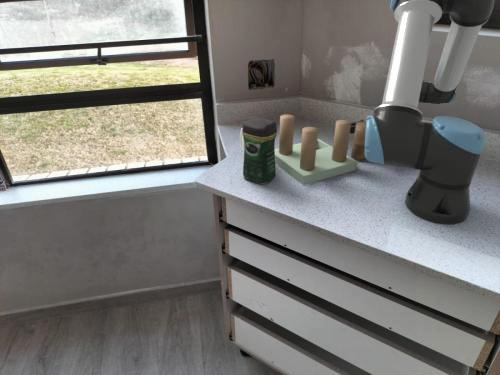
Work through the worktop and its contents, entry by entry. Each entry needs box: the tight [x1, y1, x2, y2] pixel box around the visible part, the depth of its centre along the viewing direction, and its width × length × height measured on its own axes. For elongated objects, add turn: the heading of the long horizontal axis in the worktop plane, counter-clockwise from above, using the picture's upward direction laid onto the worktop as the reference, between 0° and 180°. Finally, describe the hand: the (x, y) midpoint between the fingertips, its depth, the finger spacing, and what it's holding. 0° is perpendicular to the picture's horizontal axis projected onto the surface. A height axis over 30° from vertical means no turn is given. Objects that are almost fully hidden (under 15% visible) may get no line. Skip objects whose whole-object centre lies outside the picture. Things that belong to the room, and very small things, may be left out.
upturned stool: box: [275, 113, 358, 186], centre depth 115 cm, size 20×20×15 cm
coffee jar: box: [242, 115, 278, 185], centre depth 106 cm, size 10×8×19 cm
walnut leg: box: [350, 121, 366, 163], centre depth 119 cm, size 4×4×12 cm
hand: (355, 142), depth 116 cm, fingers open, 12 cm apart
